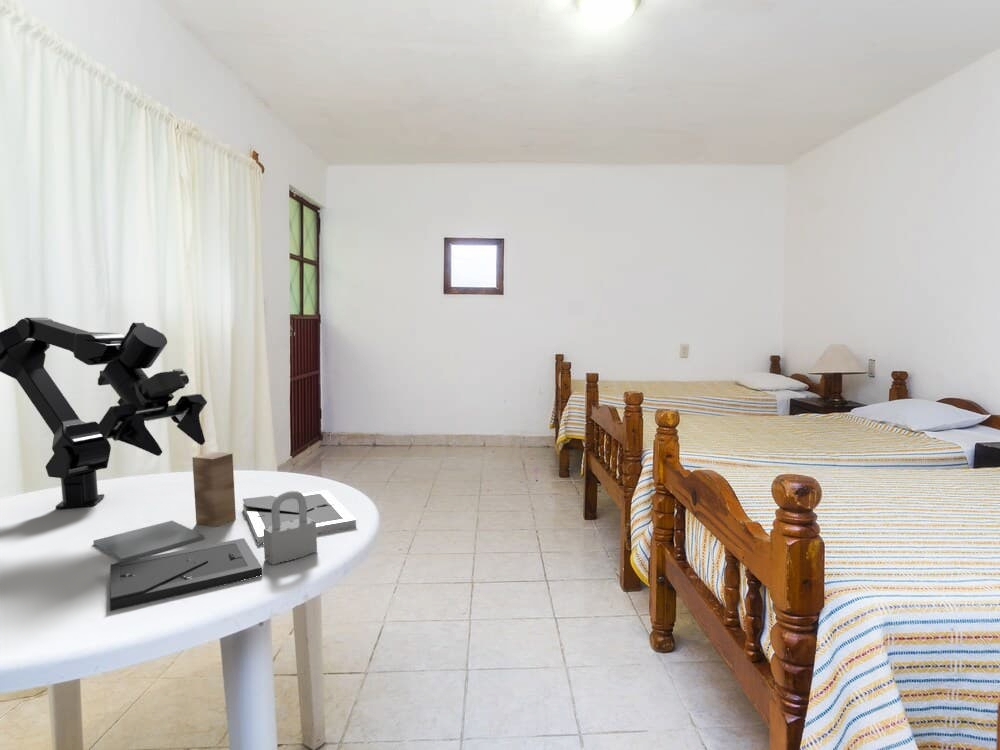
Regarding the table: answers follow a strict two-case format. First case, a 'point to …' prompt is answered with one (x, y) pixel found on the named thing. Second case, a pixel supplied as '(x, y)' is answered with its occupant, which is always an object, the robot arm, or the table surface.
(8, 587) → the table surface
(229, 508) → the block
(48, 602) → the table surface
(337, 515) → the picture frame
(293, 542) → the padlock
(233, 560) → the picture frame
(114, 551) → the coaster
